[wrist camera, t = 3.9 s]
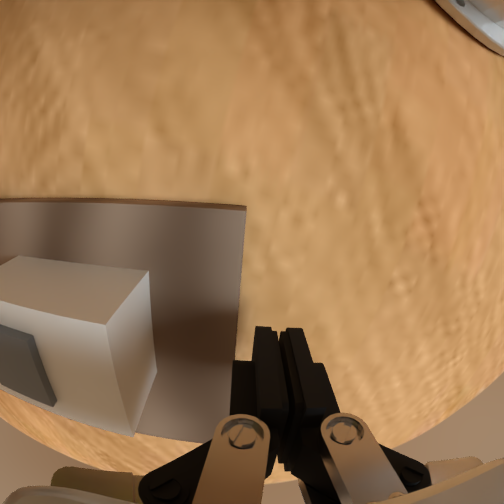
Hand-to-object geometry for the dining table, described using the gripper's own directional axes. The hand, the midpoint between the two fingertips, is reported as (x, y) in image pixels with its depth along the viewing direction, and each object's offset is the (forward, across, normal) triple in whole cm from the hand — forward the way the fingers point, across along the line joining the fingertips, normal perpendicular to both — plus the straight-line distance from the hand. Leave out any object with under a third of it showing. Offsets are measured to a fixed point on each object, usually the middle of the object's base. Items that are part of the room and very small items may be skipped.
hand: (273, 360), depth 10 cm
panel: (+3, +16, +1) cm, 16 cm away
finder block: (+1, +8, 0) cm, 9 cm away
